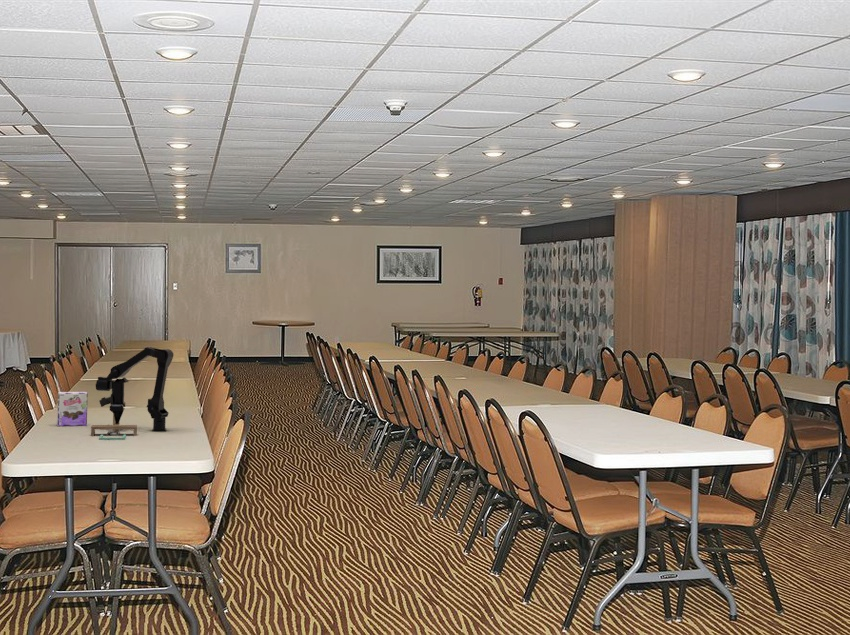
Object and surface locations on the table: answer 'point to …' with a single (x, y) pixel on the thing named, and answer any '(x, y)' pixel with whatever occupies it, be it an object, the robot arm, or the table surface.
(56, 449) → the table surface
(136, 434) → the walnut plinth
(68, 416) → the candy box
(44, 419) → the table surface
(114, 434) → the steel puck
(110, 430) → the try square
